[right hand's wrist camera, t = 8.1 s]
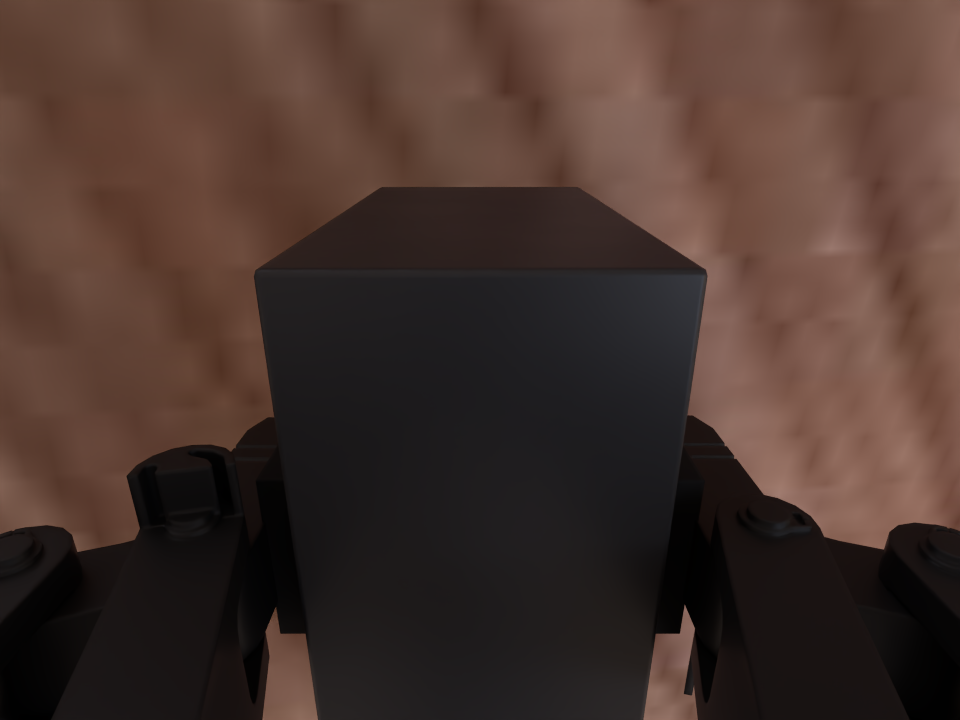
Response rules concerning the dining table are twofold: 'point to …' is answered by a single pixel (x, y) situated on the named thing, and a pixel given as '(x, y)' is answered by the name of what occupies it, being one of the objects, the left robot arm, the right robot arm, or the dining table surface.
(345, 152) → the dining table surface
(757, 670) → the right robot arm
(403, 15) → the dining table surface
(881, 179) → the dining table surface
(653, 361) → the bar
